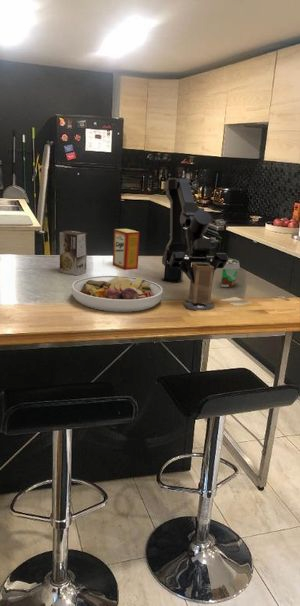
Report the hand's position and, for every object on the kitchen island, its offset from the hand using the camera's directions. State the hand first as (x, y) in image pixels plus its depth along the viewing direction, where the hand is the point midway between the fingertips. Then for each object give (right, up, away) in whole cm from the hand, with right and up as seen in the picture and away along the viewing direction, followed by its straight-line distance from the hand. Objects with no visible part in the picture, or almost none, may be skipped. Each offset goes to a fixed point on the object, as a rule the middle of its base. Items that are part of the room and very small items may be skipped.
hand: (202, 282), depth 159 cm
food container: (+14, 0, +33) cm, 35 cm away
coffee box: (-48, +5, +38) cm, 61 cm away
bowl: (-28, -6, +5) cm, 29 cm away
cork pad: (+13, -7, +11) cm, 18 cm away
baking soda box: (-28, +9, +53) cm, 61 cm away
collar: (-1, -6, +3) cm, 7 cm away
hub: (-1, -8, +4) cm, 9 cm away
